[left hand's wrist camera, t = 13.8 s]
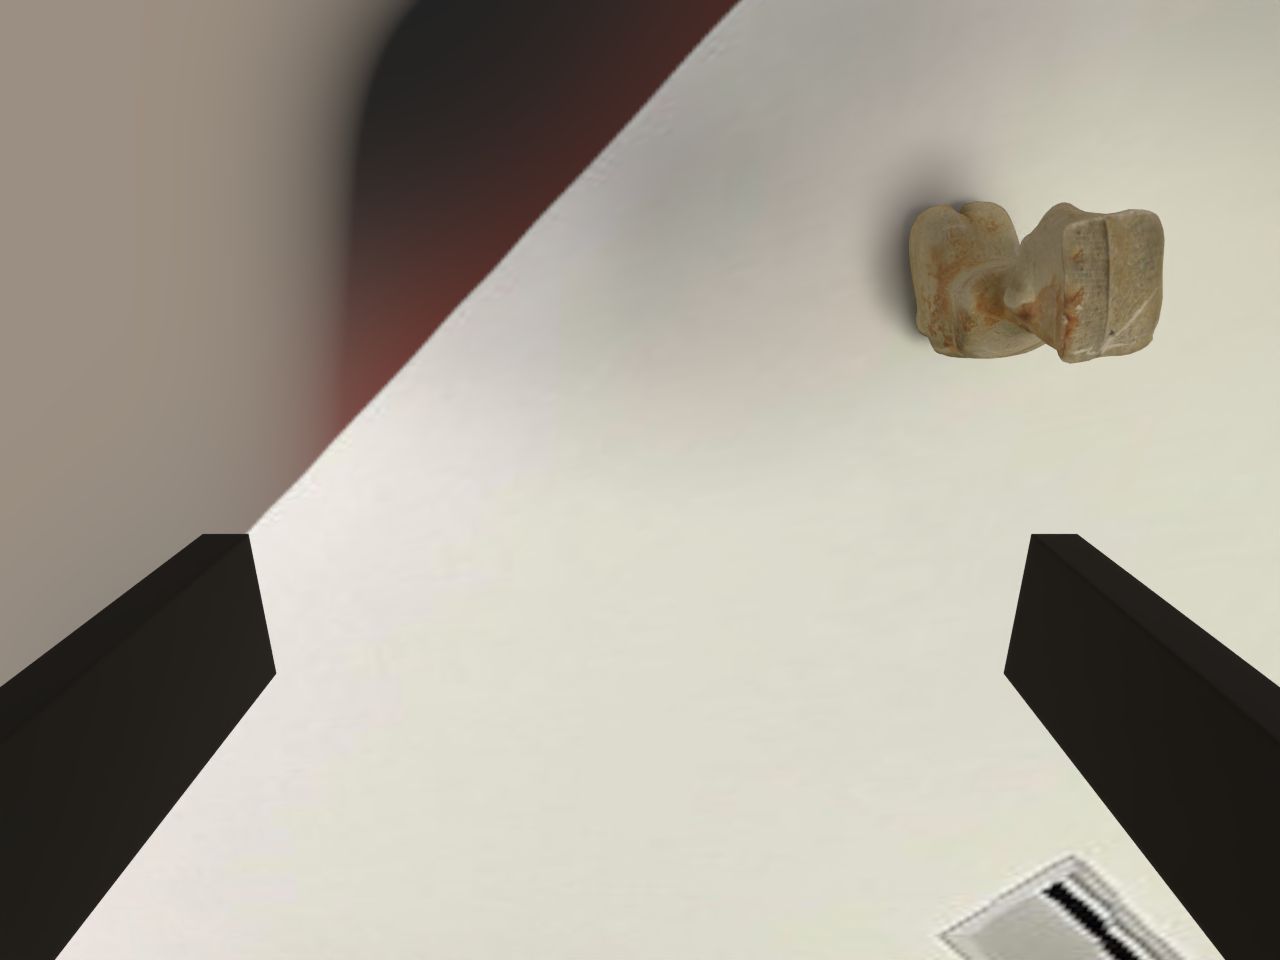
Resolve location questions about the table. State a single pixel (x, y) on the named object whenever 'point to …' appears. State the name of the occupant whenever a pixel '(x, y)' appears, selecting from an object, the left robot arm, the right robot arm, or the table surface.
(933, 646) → the table surface
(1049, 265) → the sculpture
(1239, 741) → the left robot arm
